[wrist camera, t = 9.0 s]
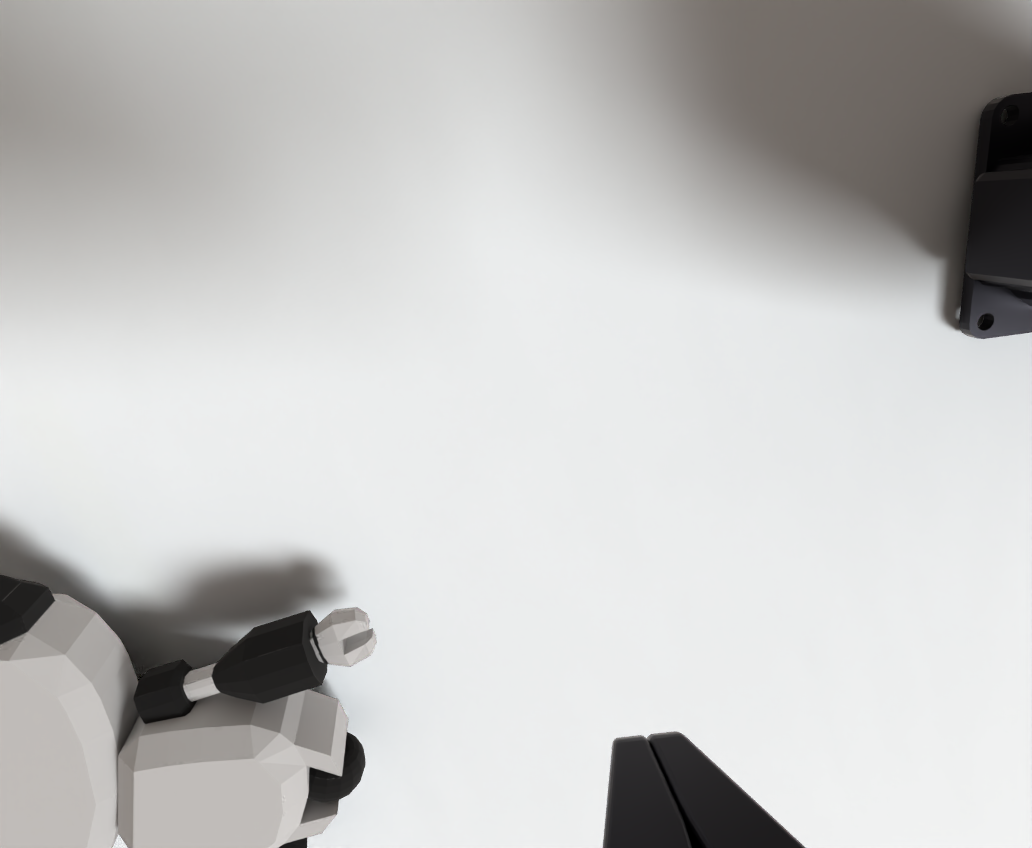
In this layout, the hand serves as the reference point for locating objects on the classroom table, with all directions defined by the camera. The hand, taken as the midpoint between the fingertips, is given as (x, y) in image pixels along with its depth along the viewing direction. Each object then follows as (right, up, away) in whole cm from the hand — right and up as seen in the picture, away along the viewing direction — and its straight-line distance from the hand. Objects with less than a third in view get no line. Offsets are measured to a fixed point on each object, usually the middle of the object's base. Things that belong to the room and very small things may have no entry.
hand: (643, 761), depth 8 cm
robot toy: (-14, -5, +14) cm, 20 cm away
